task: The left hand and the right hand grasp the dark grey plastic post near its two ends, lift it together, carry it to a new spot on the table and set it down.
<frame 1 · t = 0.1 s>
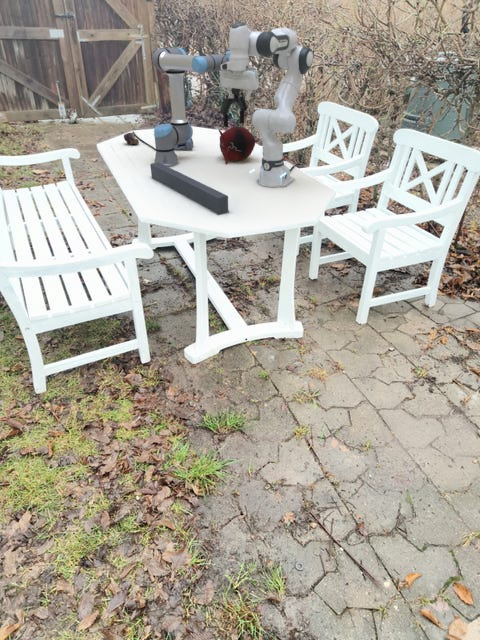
left hand: (234, 125, 259), 28 cm above the table, tool pointing down, fingers open, 13 cm apart
right hand: (239, 99, 212), 48 cm above the table, tool pointing down, fingers open, 8 cm apart
post: (186, 193, 246), on the table
rock: (131, 144, 338), on the table
koala plush: (181, 148, 328), on the table
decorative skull: (236, 159, 302), on the table
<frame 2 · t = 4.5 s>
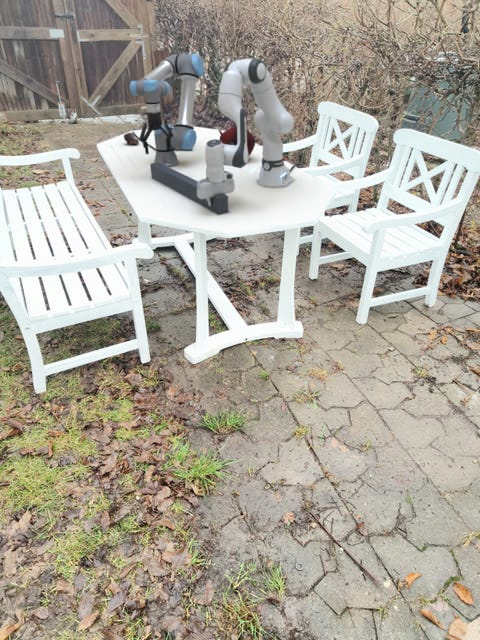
left hand: (158, 152, 258), 16 cm above the table, tool pointing down, fingers open, 13 cm apart
right hand: (216, 203, 224), 3 cm above the table, tool pointing down, fingers closed on post, 5 cm apart
post: (186, 193, 246), on the table, touching right hand
everything else where it was.
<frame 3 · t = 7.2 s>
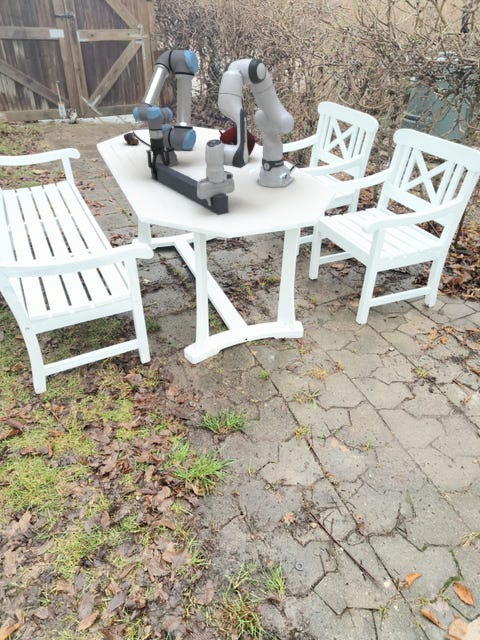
left hand: (160, 178, 266), 1 cm above the table, tool pointing down, fingers closed on post, 6 cm apart
right hand: (216, 203, 224), 3 cm above the table, tool pointing down, fingers closed on post, 5 cm apart
post: (186, 193, 246), on the table, touching left hand, right hand
everything else where it was.
when the left hand's fingers open (2 cm above the table, at t = 11.1 s): post stays where it is, on the table.
when the right hand's fingers open (4 cm above the table, at t = 11.3 s): post stays where it is, on the table.
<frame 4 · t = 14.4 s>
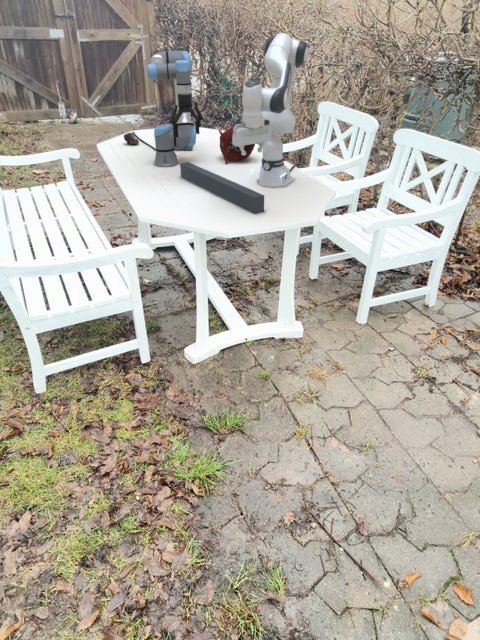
left hand: (187, 135, 253), 25 cm above the table, tool pointing down, fingers open, 13 cm apart
right hand: (251, 153, 210), 27 cm above the table, tool pointing down, fingers open, 8 cm apart
post: (218, 192, 246), on the table
everything else where it was.
at the end: post inside the target area (0.3 cm from its centre), on the table; post tilted 0°; post never tilted more than 2° during the clip; both hands held the post at the same time; the left hand is holding nothing; the right hand is holding nothing; post at rest at the end (0.0 cm/s) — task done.
